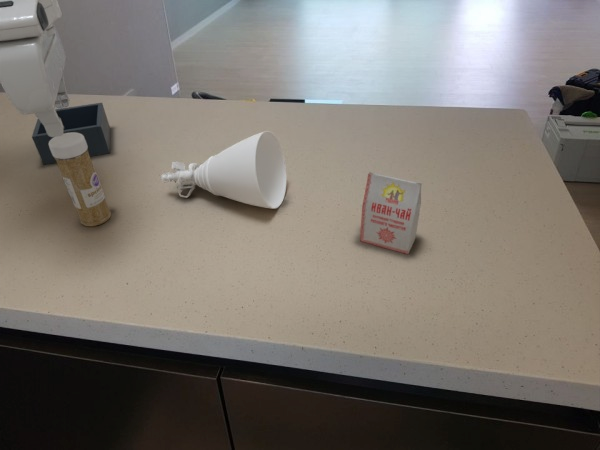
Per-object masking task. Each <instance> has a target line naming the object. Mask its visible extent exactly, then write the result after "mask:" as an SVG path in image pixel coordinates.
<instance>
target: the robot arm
mask: <svg viewBox="0 0 600 450" xmlns="http://www.w3.org/2000/svg"><path fill="white" fill-rule="evenodd" d="M62 16H63V13H62V10H61V7H60V4H59V0H0V85H1V87H2V88H3V90H4V92H5V94H6V96H7V97H8V100H9V102H10V103H11V105H12V106H13V107H14V108H15V110H17V112H19V113H20V114H21V115H26V116H27V115H33V114H34V115H35V117H36V118H37V119H39V120H40V122H41V123H42V124H43V125H44V127H45V130H46V132H47V134H48V136H49V137H57V136H61V135H63V132H64V126H63V124H62V121H61V118H60V117H58V115H57V113H56V111H55V109H62V108H69V105H70V98H69V94H68V92H67V87H66V82H65V77H64V70H65V67H66V62H67V56H66V52H65V48H64V45H63V43H62V40H61V37H60V35H59V32H58V30H57V27H56V25H55V21H57V20H59V19H61V18H62Z"/></svg>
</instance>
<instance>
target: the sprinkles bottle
mask: <svg viewBox="0 0 600 450" xmlns="http://www.w3.org/2000/svg"><path fill="white" fill-rule="evenodd" d="M49 148H50V150H51V153H52V155H53V157H54V158H55V159H56V161H57V162H56V164H57V166H58V169H59V171H60V173H61V177H62V179H63V182H64V184H65V187H66V190H67V191H68V194H69V196H70V198H71V201H72V203H73V204H72V205H73V206H74V207H75V209H76V212H77V214H78V216H79V221H80V223H81V224H82V225H83V226H86V227H96V226H99V225H102V224H105V223H106V222H107V221H108V220H110V218H111V217H112V211H111V210H110V208H109V205H108V203H107V200H106V197H105V196H106V195H105V193H104V190H103V187H102V185H101V182H100V179H99V176H98V174H97V172H96V169H95V167H94V164H93V162H92V159H91V157H90V156H89V153H88V149H87V148H88V146H87V143H86V140H85V138H84V136H83V135H82V134H80V133H76V132H71V133H64V134H63V135H61V136H57V137H54V138H52V139H51V140H50V141H49Z"/></svg>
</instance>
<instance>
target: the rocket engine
mask: <svg viewBox="0 0 600 450" xmlns="http://www.w3.org/2000/svg"><path fill="white" fill-rule="evenodd" d="M171 170H174V172H172V171H171ZM171 170H170V171H169V172H167V171H164V172H163V174H161V175H160V180H161V182H162V183H164V184H165V183H173V182H174V183H177V185H178V186H177V187H176V188H177V190H176V192H177V193H178V196H179V197H180V198H185V199H187V198H189V197H190V196H191V194H192V193H193V191H194V190H195V189H196V186H197V187H198V188H202V190H205V191H208V192H209V193H211V194H212V195H214V196H221V197H224V198H226V199H230V200H232V201H237V202H239V203H242V204H246V205H250V206H255V207H259V208H265V209H274V210H276V209H278V208H279V207H280V206H281V205H282V203H283V201H284V199H285V195H286V192H287V191H286V190H287V178H288V177H287V164H286V160H285V154H284V152H283V148H282V145H281V143H280V141H279V139H278V138H277V136H276V135H275V134H274V133H273V132H272V131H269V130H264V131H261V132H258V133H256V134H253V135H251V136H249V137H246V138H244V139H242V140H240V141H238V142H236V143H234V144H233V145H230V146H229V147H227V148H225V149H224V150H222V151H220V152H218V153H216V154H215V155H211V156H209V157H208V158H207V159H206V160H205V161H204V162H203V163H201V164H200V165H199V164H198V163H197V162H191V163H189V164H188V169H186V163H184V162H182V161H177V160H176V161H171ZM183 189H189V191H188V193H187V195H183V194H182V192H183Z"/></svg>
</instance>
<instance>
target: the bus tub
mask: <svg viewBox="0 0 600 450" xmlns="http://www.w3.org/2000/svg"><path fill="white" fill-rule="evenodd" d="M55 111H56V113H57V115H58V117H60V118H61V121H62V124H63V126H64V132H63V134H64V133H71V132H76V133H80V134H82V135H83V136H84V138H85V140H86V143H87V146H88V148H87V149H88V153H89V156H90V158H91V157H96V156H101V155H107V154H110V153H111V126H110V123H109V120H108V117H107V114H106V110H105V108H104V104H103V102H97V103H90V104H83V105H76V106H70V107H69V106H68V107H63V108H55ZM52 138H54V137H49V136H48V134H47V132H46V130H45V127H44V125H43V124H42V123H41V122H40V120H39V119H38V118H37V119H36V122H35V126H34V129H33V132H32V135H31V139H32V141H33V143H34V146H35V148H36V150H37V152H38V155H39V157H40V159H41V162H42V164H43V165H50V164H55V163H56V164H57V161H56V159H55V158H54V157H53V155H52V153H51V150H50V148H49V141H50V140H51V139H52Z"/></svg>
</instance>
